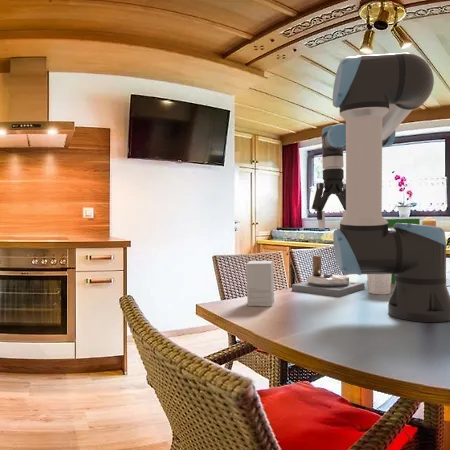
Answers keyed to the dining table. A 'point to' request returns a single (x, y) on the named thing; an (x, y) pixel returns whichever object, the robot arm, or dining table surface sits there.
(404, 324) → the dining table surface
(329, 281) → the capstan dial
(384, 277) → the white cup
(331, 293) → the dial base
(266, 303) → the supplement box
